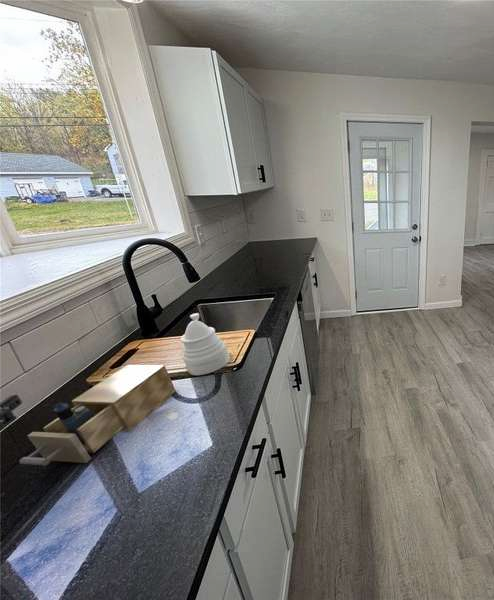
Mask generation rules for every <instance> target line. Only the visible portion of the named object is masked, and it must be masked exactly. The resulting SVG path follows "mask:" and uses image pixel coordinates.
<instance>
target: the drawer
mask: <svg viewBox="0 0 494 600" xmlns="http://www.w3.org/2000/svg"><path fill="white" fill-rule="evenodd" d="M81 406H85V407H86V409H88V410H90V411H91V412H92V414H93V416H94V417H93V418H91V419H90V420H89V421H87V422H86V423H85V424H83V425H82V426H81V427H79V428H78V429H77V431H78V433H79V434H80V436H81V437H82V439H83V440H84V442H85V443H86V444H84V445H82V443H81V442H80V440H79V439H78V437H77V436H76V434H70V433H69V431H68V430H66V429H65V428H64V425H63V424H62V422H61V420H60V419H59V417H57V418H56V419H53V421H51V422H50V423H48V424H47V425H45V426H44V427H43V428H42V429H43V430H44V431H31V433H29V434H28V435H27V438H28V439H29V441H30V442H31V443H32V444H33V446H34V447H35V449H36V450H35V451H33V452H32V453H30V454H29V455H28V456H23V457H21V458H20V459H19V461H18V463H19V464H20V465H29V466H48V465H49V464H50V462H66V463H81V464H82V463H83V464H87V463H88V462H90V460H92V457H91V456H90V454H89V453H92V454H93V453H96V451H98V450H99V449H100V448H101V447H103V446H104V445H105V444H106V443H108V442H109V441H110V440H111V439H112V438H113V437H114V436H116V435H117V434H118V433H119V432H121V431H120V430H122V429H123V428H124V427H125V426H124V424H123V422H122V420H121V419H120V417H119V415H118V413H117V412H116V410H115V408H114V406H113V405H105V404H78V405H76V406H74V407H72V408H71V410H72V412H73V413H74V414H75V412H74V410H75V409H77V408H78V407H81ZM62 420H63V419H62ZM39 454H40V455H41V457H36V456H37V455H39Z"/></svg>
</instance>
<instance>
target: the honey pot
mask: <svg viewBox="0 0 494 600" xmlns="http://www.w3.org/2000/svg"><path fill="white" fill-rule="evenodd" d="M189 318H190V319H191V321H190V322H189V323H188V324H187V326H186V329H185V332H184V334H183V335H182V336H181V337H180V342H181V343H183V347H182V354H183V355H182V361H183V363H184V365H185V368H186V370H187V373H188V374H189V375H192V376H203V375H207V374H211V373H214V372H215V371H218V370H220V369H222V368H223V367H225V366H226V365H227V364H228V363H229V362H230V361H231V360H230V359H231V356H230V353H229V351H228V348H227V345H226V343H225V342H224V341H222V339H221V338H220V336H219V335H218V334H216V329H215V328H214V327H213V326H208V325H206V324H205V323H203V321H200V320H199V319H200V313H199V312H196V313H192V314H190V315H189Z"/></svg>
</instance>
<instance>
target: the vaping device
mask: <svg viewBox="0 0 494 600" xmlns="http://www.w3.org/2000/svg"><path fill="white" fill-rule="evenodd" d="M71 409H72V408H71V407H70V405H69V404H68V403H63V402H62V401H60V402H57V403H56V404H55V407H54V408H53V411H54V413H55V414H56V416H57V418H59V419H60V420H61V422H62V424H63V425H64V428H65V429H66V430H68V431H69V433H70V434H76V436H77V437H78V439H79V440H80V442H81V443H82V445H84V444H86V443H85V442H84V440H83V439H82V437H81V436H80V434H79V433H78V431H77V429H78V428H79V427H81V426H82V425H83V424H85V423H86V422H87V421H89V420H90V419H91V418H93V417H94V416H93V414H92V412H91V411H90V410H88V409H86V407H85V406H81V407H78V408H77V409H75V410H74V412H75V414H74V413H73V412H72V410H71ZM62 419H63V420H62Z"/></svg>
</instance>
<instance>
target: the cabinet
mask: <svg viewBox="0 0 494 600" xmlns="http://www.w3.org/2000/svg"><path fill="white" fill-rule="evenodd" d="M176 391H177V390H176V388H175V386H174V383H173V381H172V379H171V377H170V374H169V372H168V370H167V368H166V365H164V364H126V365H125V366H123V367H122V368H120V369H119V370H117V371H116V372H114V373H112V374H111V375H109V376H108V377H106V378H104V379H103V380H101V381H100V382H99V383H97V384H95V385H94V386H92V387H91V388H89V389H87V390H86V391H85V392H83V393H82V394H80V395H79V396H77V397H75V398H73V399H72V400H71V403H72V405H73V406H74V407H75V406H76V405H78V404H105V405H113V406H114V408H115V410H116V412H117V413H118V415H119V417H120V419H121V420H122V422H123V424H124V426H125V427H124V428H123V429H122V430H120V431H119V432H131V431H132V430H134V428H136V427H137V426H138V425H139V424H140V423H141V422H143V421H144V420H145V419H146V418H148V417H149V415H151V414H153V412H154V411H155V410H157V409H158V408H159V407H160V406H161V405H162V404H164V402H165V401H167V400H168V399H169V398H170V397H171V396H172V395H174V394H175V393H176Z"/></svg>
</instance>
